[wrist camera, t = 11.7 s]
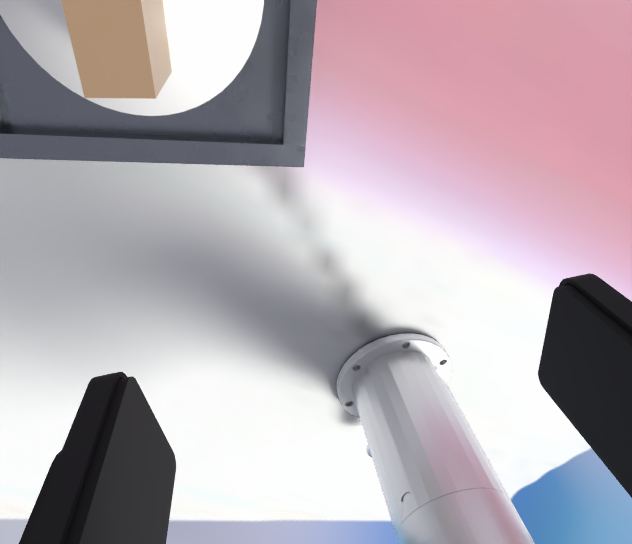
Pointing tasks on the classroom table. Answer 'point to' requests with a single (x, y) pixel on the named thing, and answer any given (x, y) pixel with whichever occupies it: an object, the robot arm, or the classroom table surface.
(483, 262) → the classroom table surface
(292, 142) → the dial housing
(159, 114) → the dial
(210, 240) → the classroom table surface
